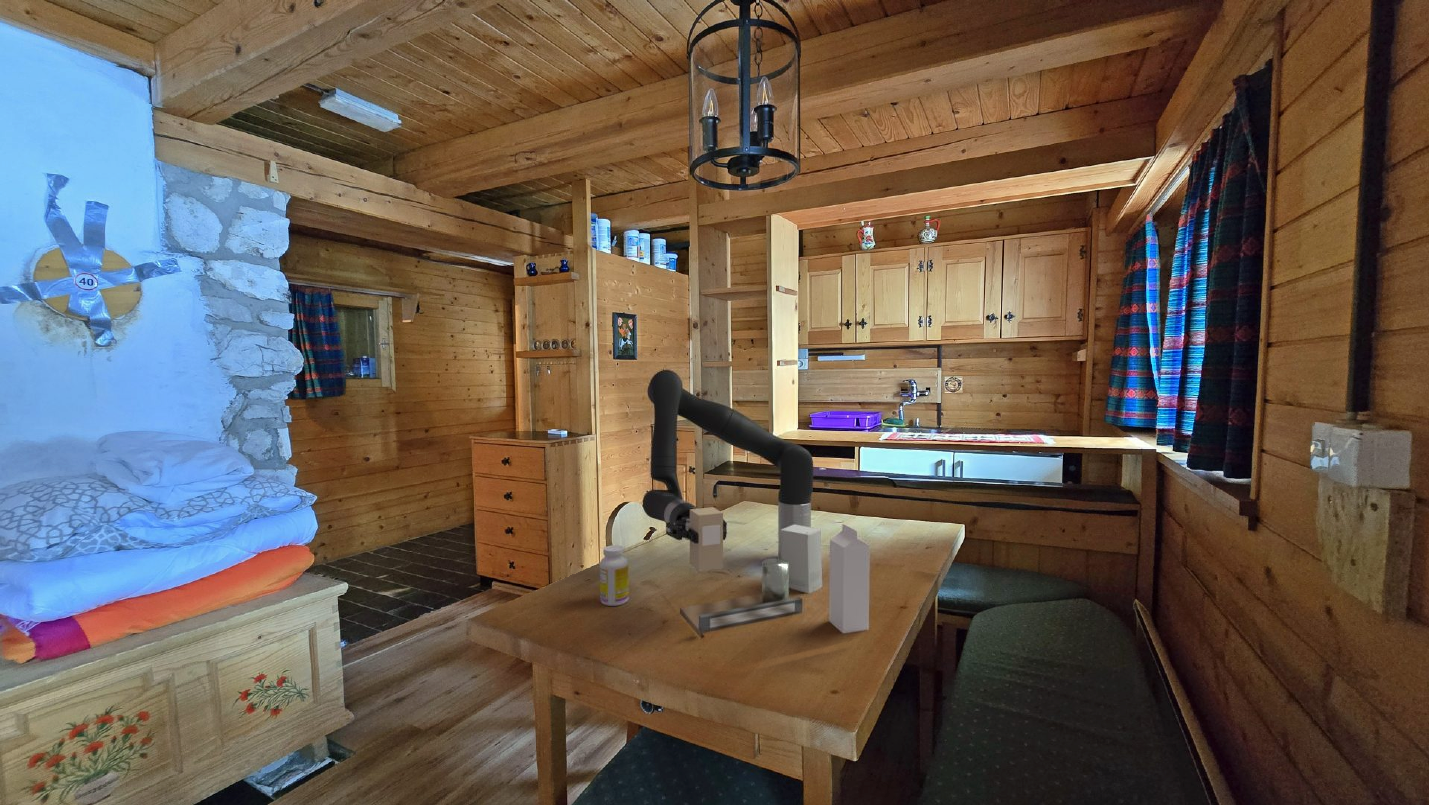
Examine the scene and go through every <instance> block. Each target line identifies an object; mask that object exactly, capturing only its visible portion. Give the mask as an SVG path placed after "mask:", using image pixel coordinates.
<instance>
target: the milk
mask: <svg viewBox="0 0 1429 805" xmlns="http://www.w3.org/2000/svg"><path fill="white" fill-rule="evenodd" d="M841 525H842V526H841V531H840V532H838V533H837V534H835V535H834V536H833V537H832V538H830V539H829V614H828V615H829V616H828V617H829V618H828V619H829V623H830V624H832V625H833V626H834V627H835V628H836V629H837V630H839V632H841V633H842V634H849V633H855V632H863V631H868V630H870V629H869V626H870V620H869V619H870V551H871V550H870V547H871V546H870V544H868V543H867V542H865V541H863V540H862V539H859V537H858V530H856V529H855V528H852V527H850V526H849V525H846V524H845V523H842V524H841Z"/></svg>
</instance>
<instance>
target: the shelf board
mask: <svg viewBox="0 0 1429 805" xmlns="http://www.w3.org/2000/svg"><path fill="white" fill-rule="evenodd" d="M801 613H803V598H801V597H800V596H798V597H792V598H789V599H786V600H781V601H775V602H770V603H764V604H762V593H757V594H753V595H745V596H740V597H734V598H728V599H723V600H718V601H711V602H706V603H700V604H694V605H689V606H682V607H679V615H681V616H682V618H683V619H684V620H685V621H686V622H687V624H688V625H690V627H691V628H692V629H693V630H694V631H695V632H696V634H697V635H698V636H699V637H700V638H701V639H702V638H705V637H706V636H705V635H704V634H703V633H704V632H710V631H713V630H719V629H724V628H729V627H730V628H731V627H734V626H741V625H745V624H751V623H755V622H760V621H766V620H767V621H768V620H770V619H776V618H782V617H787V616H793V615H796V614H801Z"/></svg>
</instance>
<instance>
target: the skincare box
mask: <svg viewBox="0 0 1429 805" xmlns="http://www.w3.org/2000/svg"><path fill="white" fill-rule="evenodd" d="M811 527H812V526H811ZM811 527H806V526H800V525H795V524H794V525H791V526H789V527H787V528H784V529H781V530H780V537H781V559H783V560H786V561H788V562H789V589H791V590H796V591H798V592H802V593H805V594H811V593H814V592H815V591H817V590H820V589H821V588H823V572H822V571H823V570H822V568H823V566H822V565H823V562H822V560H823V559H822V529H821V528H815V527H812V528H811Z"/></svg>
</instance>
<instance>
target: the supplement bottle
mask: <svg viewBox="0 0 1429 805" xmlns="http://www.w3.org/2000/svg"><path fill="white" fill-rule="evenodd" d="M624 549H625V548H624V546H623V545H618V544H615V545H613V544H611V545H608V546H605V547H603V555H604V557H603V558H601V560H600V562H599V597H600V602H601V604H602V605H605V606H607V607H608V606H609V607H610V606H611V607H613V606H614V607H615V606H622V605H624V604H626V603H627V602H628V601H629V598H630V597H629V594H630V589H629V560H628V559H627V557H626V556H624V552H625V551H624Z"/></svg>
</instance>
